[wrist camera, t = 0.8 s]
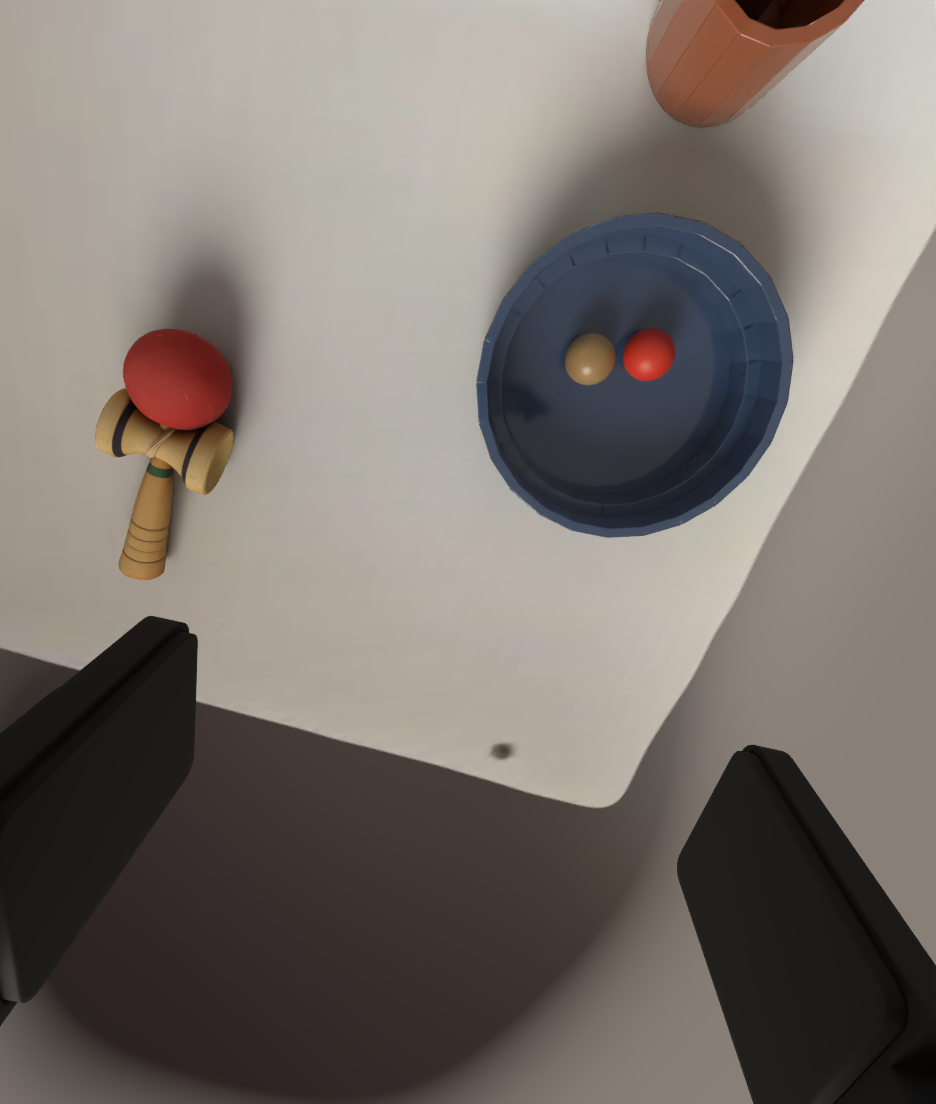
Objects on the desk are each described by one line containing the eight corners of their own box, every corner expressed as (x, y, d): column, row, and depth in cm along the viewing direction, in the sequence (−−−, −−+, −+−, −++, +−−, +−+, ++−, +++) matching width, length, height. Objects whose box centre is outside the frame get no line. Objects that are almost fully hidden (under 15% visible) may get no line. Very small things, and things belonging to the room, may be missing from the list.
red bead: (618, 330, 34) (629, 329, 31) (668, 326, 33) (684, 325, 30) (617, 381, 35) (628, 384, 32) (665, 377, 34) (680, 381, 32)
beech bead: (561, 335, 34) (567, 334, 31) (610, 331, 34) (620, 330, 31) (562, 384, 35) (568, 388, 32) (609, 381, 35) (619, 385, 32)
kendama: (220, 574, 43) (275, 362, 35) (159, 613, 38) (206, 372, 29) (138, 526, 44) (172, 305, 35) (66, 558, 38) (85, 304, 29)
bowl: (471, 247, 33) (466, 230, 28) (764, 220, 32) (816, 197, 26) (488, 517, 39) (486, 544, 34) (733, 503, 38) (770, 529, 33)
